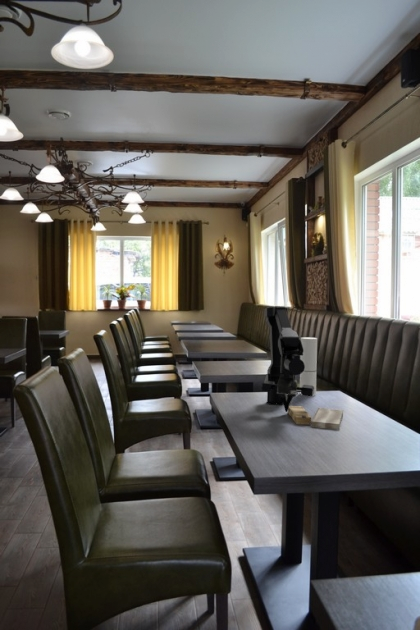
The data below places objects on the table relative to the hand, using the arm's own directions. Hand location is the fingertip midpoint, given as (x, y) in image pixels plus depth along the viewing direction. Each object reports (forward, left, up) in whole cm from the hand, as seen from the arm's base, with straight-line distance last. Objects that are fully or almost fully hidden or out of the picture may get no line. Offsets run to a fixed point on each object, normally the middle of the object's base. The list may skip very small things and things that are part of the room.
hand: (286, 411), depth 173 cm
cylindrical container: (+3, +39, -1) cm, 39 cm away
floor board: (+15, -3, -1) cm, 16 cm away
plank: (+5, -4, -1) cm, 7 cm away
